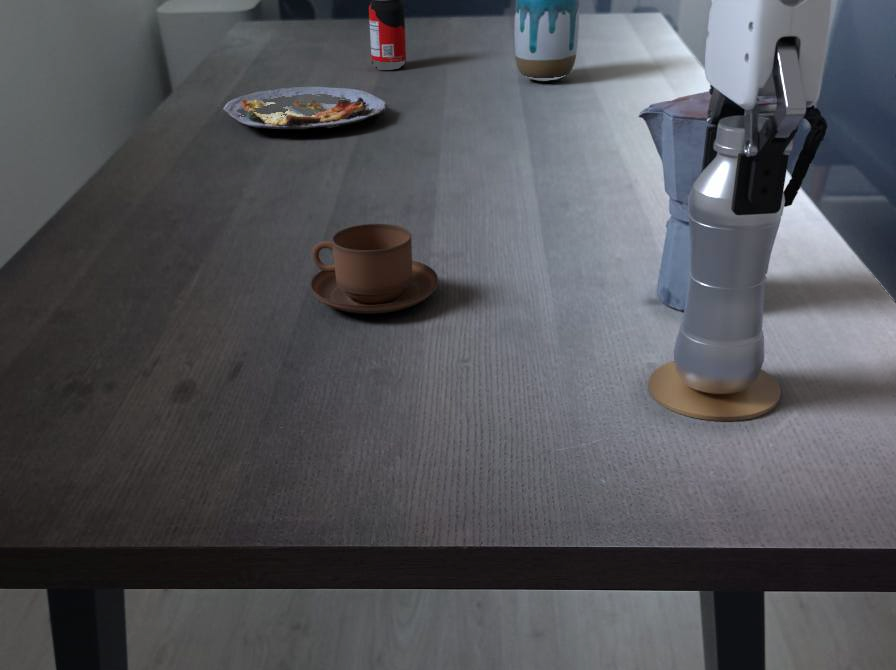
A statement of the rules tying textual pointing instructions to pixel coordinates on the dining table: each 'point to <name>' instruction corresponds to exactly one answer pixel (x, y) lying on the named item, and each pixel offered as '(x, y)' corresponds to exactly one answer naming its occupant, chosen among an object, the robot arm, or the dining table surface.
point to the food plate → (329, 118)
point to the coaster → (713, 397)
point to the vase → (546, 37)
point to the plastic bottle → (724, 276)
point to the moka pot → (682, 154)
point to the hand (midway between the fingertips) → (738, 194)
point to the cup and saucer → (372, 271)
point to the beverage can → (387, 30)
